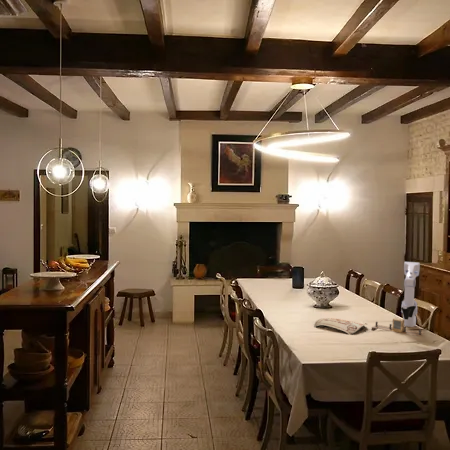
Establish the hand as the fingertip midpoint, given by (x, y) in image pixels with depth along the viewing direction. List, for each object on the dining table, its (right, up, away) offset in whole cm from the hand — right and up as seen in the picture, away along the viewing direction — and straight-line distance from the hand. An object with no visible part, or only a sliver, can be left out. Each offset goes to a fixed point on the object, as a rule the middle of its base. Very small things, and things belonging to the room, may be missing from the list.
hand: (408, 318), depth 322 cm
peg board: (-7, -9, +1) cm, 11 cm away
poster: (-40, -9, +11) cm, 42 cm away
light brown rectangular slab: (-6, -8, 0) cm, 10 cm away
